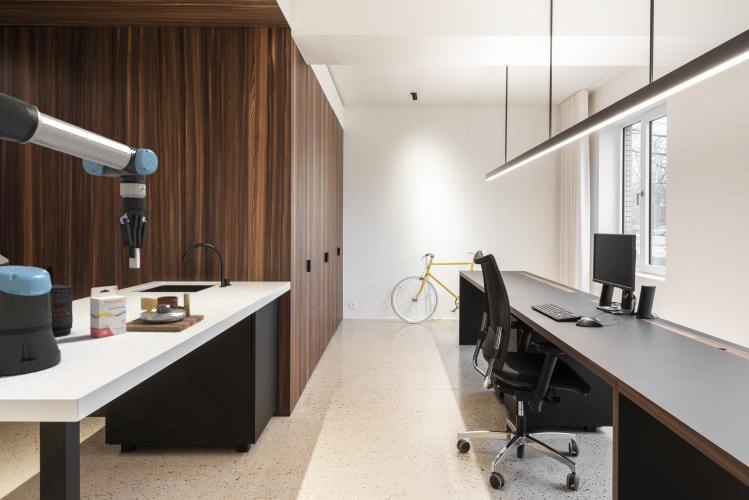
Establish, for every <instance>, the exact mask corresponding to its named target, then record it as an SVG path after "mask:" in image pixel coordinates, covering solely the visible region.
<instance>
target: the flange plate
mask: <svg viewBox="0 0 749 500" xmlns="http://www.w3.org/2000/svg"><path fill="white" fill-rule="evenodd" d="M140 310H141V311H143V312H140V318H141V321H143V322H170V321H177V320H181V319H184V318H186V311H185V310H182V309H171V305H169V304H162V305H157V298H154V297H153V298H152V297H141V298H140Z"/></svg>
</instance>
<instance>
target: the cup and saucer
mask: <svg viewBox="0 0 749 500" xmlns="http://www.w3.org/2000/svg"><path fill="white" fill-rule="evenodd" d="M156 299H157V305H162V304H169V305H171V309H182V310H184V306H181V305H178V304H179V300H178V299H179V297H178V296H177V295H176V296H175V295H171V296H170V295H169V296H168V295H167V296H158V297H156Z"/></svg>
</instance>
